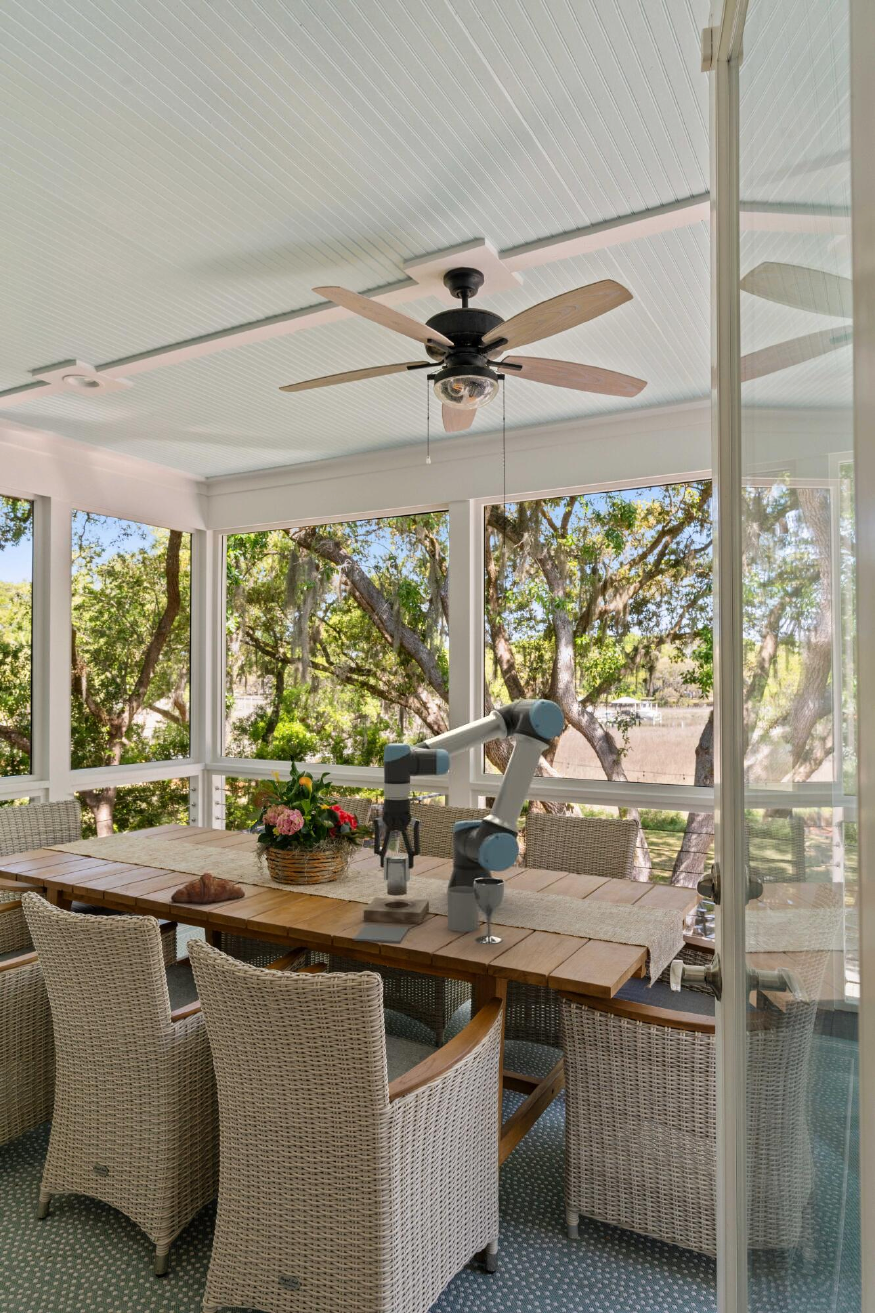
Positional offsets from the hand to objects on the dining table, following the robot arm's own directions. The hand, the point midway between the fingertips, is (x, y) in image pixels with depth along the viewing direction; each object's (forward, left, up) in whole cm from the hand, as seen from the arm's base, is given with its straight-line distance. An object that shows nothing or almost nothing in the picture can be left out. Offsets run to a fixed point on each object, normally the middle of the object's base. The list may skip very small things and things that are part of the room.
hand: (396, 879), depth 236 cm
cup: (-20, +8, -10) cm, 24 cm away
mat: (0, +19, -10) cm, 22 cm away
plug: (0, 0, -4) cm, 4 cm away
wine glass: (-28, +18, -10) cm, 35 cm away
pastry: (+60, -8, -11) cm, 62 cm away
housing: (0, 0, -10) cm, 10 cm away
